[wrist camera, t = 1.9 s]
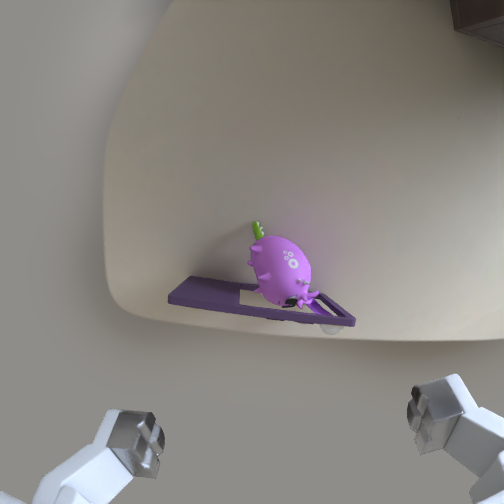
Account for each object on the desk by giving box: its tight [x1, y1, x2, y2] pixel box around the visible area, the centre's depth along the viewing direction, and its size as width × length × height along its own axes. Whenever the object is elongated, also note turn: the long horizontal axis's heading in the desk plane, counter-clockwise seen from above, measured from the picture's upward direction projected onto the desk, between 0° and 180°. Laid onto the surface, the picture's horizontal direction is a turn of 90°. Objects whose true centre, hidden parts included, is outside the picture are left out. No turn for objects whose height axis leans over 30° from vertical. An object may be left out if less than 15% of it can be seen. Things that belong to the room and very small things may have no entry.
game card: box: [168, 221, 356, 335], centre depth 18 cm, size 7×5×9 cm
